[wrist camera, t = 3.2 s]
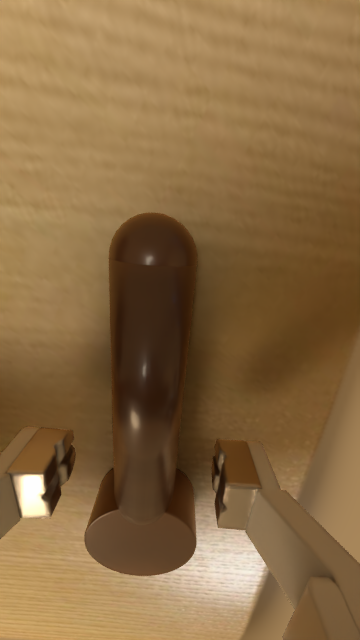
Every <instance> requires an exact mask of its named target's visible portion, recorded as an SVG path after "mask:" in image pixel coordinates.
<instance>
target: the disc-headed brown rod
mask: <svg viewBox="0 0 360 640" xmlns="http://www.w3.org/2000/svg"><path fill="white" fill-rule="evenodd" d="M196 270H197V252H196V246H195V244H194V241H193V239H192V237H191V235H190V234H189V232H188V231H187V229H186V228H185V227H184V226H183V225H182V224H181V223H180V222H178V221H177V220H175V219H174V218H172V217H170V216H167V215H165V214H160V213H143V214H139V215H136V216H134V217H132V218H130V219H129V220H127V221H126V222H125V223H123V224H122V225H121V226H120V228H119V229H118V230H117V231H116V233H115V235H114V237H113V239H112V241H111V245H110V249H109V292H110V333H111V374H112V415H113V456H114V469H112V470H111V471H110V472H109V473H108V474H107V475H106V476H105V477H104V479H103V480H102V483H101V485H100V488H99V491H98V494H97V498H96V501H95V504H94V507H93V510H92V513H91V516H90V519H89V522H88V525H87V528H86V532H85V546H86V548H87V551H88V552H89V554H90V555H91V556H92V557H93V558H94V559H95V560H96V561H97V562H98V563H100V564H101V565H103V566H105V567H107V568H109V569H111V570H114V571H117V572H120V573H124V574H129V575H137V576H151V575H159V574H164V573H167V572H170V571H173V570H175V569H177V568H179V567H181V566H183V565H184V564H185V563H187V562H188V561H189V560H190V558H191V557H192V556H193V554H194V552H195V548H196V523H195V503H194V490H193V487H192V484H191V482H190V480H189V479H188V478H187V476H186V475H185V474H183V473H182V472H181V471H180V470H178V469H177V468H176V465H177V456H178V446H179V436H180V426H181V417H182V407H183V397H184V387H185V377H186V368H187V358H188V348H189V338H190V329H191V319H192V309H193V299H194V290H195V280H196Z"/></svg>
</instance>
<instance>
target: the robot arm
mask: <svg viewBox="0 0 360 640" xmlns="http://www.w3.org/2000/svg"><path fill="white" fill-rule="evenodd" d="M73 440H74V434H73V431H72V430H66V429H55V428H44V427H30V426H26V427H25V428H23V429H21V430H20V432H19V433H18V434H17V435H16V436H15V438H14V439H13V440H12V441H11V442H10V443H9V445H8V446H7V447H6V448H5V449H4V451H3V452H2V453H1V454H0V539H1V538H2V537H3V536H4V535H5V534H6V533H7V532H8V531H9V530H10V529H11V528H12V527H13V526H14V525H16V524H17V523H18V522H19V521H20V518H50V517H51V515H52V513H53V511H54V509H55V507H56V505H57V503H58V501H59V498H60V496H61V488H60V486H61V485H63V484H64V483H65V482H66V481H68V479H69V477H70V475H71V472H72V470H73V466H74V463H75V455H76V452H75V448H74V447H73V445H72V444H71V443H72V442H73ZM214 448H215V455H214V456H213V458H212V467H211V476H212V487H213V490H214V491H215V492H216V498H215V510H216V518H217V525H218V528H226V529H237V530H246V533H247V535H248V537H249V538H250V540H251V541H252V543H253V544H254V546H255V548H256V549H257V551H258V552H259V554H260V556H261V557H262V559H263V560H264V562H265V563H266V565H267V567H268V568H269V570H270V571H271V573H272V574H273V576H274V577H275V579H276V581H277V582H278V584H279V585H280V587H281V589H282V590H283V592H284V593H285V595H286V596H287V598H288V600H289V601H290V603H291V604H292V606H293V607H294V609H295V611H294V613H293V615H292V617H291V619H290V621H289V623H288V626H287V628H286V630H285V633H284V635H283V640H360V564H359V563H358V562H357V561H356V560H355V559H354V558H353V557H352V556H351V555H350V554H349V553H348V552H347V551H346V550H345V549H344V548H343V547H342V546H341V545H340V544H339V543H338V542H337V541H336V540H335V539H334V538H333V537H332V536H331V535H330V534H329V533H328V532H327V531H326V530H325V529H324V528H323V527H322V526H321V525H320V524H319V523H318V522H317V521H316V520H315V519H314V518H313V517H312V516H311V515H310V514H309V513H308V512H307V511H306V510H305V509H304V508H303V507H302V506H301V505H300V504H299V503H298V502H297V501H296V500H295V499H294V498H293V497H292V496H291V495H290V494H289V493H288V492H287V491H286V490H281V489H280V486H279V484H278V481H277V479H276V476H275V474H274V472H273V469H272V467H271V464H270V462H269V459H268V457H267V454H266V452H265V449H264V447H263V444H262V443H261V442H260V441H244V440H227V439H216V441H215V446H214Z"/></svg>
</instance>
